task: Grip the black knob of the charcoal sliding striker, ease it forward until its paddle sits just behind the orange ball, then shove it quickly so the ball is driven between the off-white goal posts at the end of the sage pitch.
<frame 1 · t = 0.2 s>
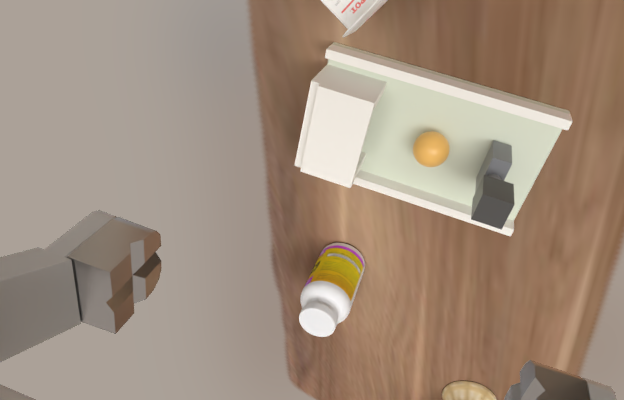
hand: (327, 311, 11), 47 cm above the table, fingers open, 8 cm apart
hand bell: (469, 397, 78), on the table
ball: (431, 149, 56), point 3 cm above the table, touching pitch
supplement bottle: (343, 258, 72), on the table
pitch: (425, 135, 58), on the table
striker: (492, 185, 52), point 7 cm above the table, slide at 0.0 cm
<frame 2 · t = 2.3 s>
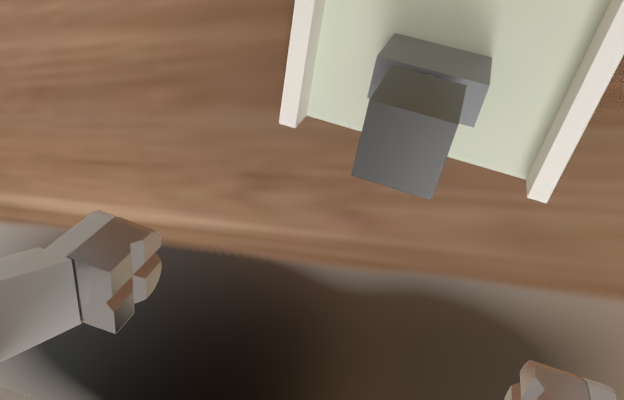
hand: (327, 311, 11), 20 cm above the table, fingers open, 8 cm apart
striker: (422, 99, 22), point 7 cm above the table, slide at 0.0 cm
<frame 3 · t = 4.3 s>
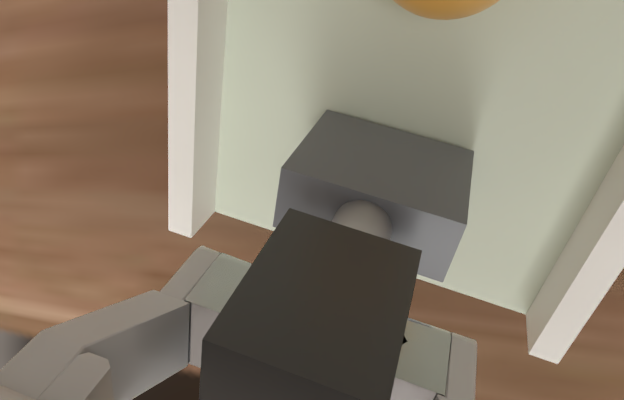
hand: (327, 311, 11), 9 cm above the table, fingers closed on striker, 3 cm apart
striker: (354, 245, 13), point 7 cm above the table, slide at 0.0 cm, touching gripper
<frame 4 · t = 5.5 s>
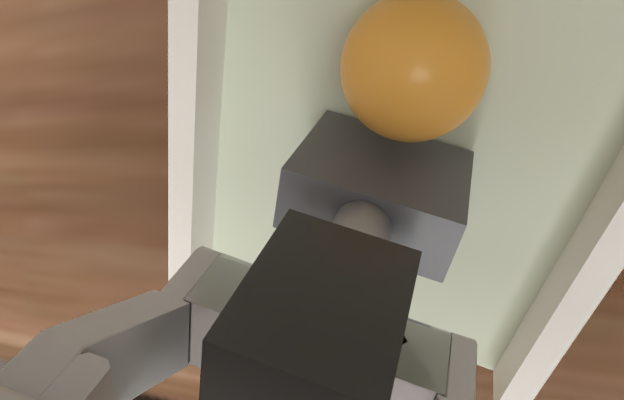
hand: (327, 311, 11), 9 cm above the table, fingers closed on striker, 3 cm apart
ball: (413, 68, 14), point 3 cm above the table, touching pitch
pitch: (435, 10, 16), on the table
striker: (354, 246, 13), point 7 cm above the table, slide at 3.4 cm, touching gripper
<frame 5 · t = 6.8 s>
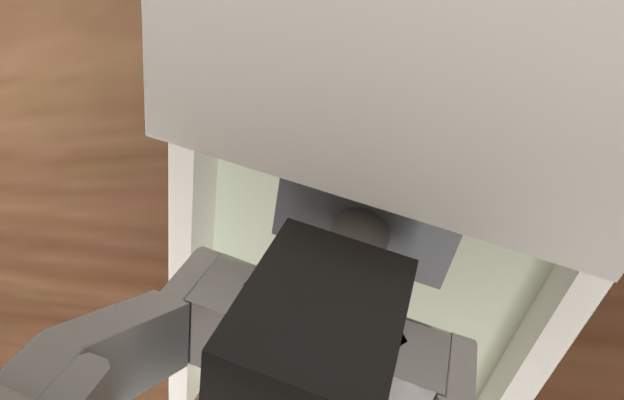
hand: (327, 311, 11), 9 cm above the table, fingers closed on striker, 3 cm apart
pitch: (373, 226, 20), on the table
striker: (352, 253, 13), point 7 cm above the table, slide at 11.7 cm, touching gripper
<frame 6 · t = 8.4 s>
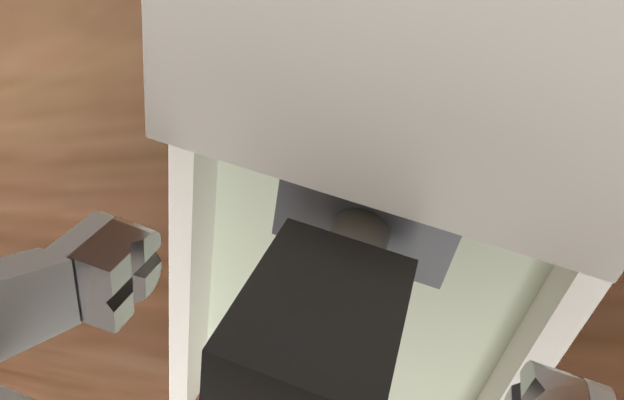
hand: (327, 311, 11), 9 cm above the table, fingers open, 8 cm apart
pitch: (372, 226, 20), on the table
striker: (352, 253, 13), point 7 cm above the table, slide at 11.7 cm
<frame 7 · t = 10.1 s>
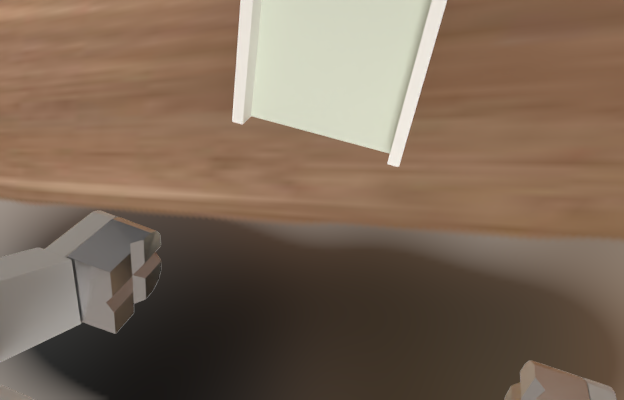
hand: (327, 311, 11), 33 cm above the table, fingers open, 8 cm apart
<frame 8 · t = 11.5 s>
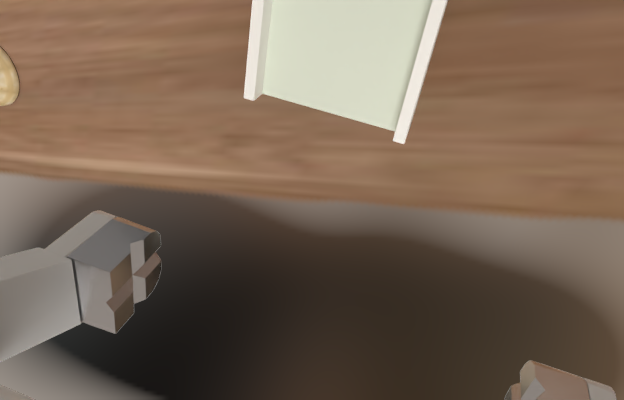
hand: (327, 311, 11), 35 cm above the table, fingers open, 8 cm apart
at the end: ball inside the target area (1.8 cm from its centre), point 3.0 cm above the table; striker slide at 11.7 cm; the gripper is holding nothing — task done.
